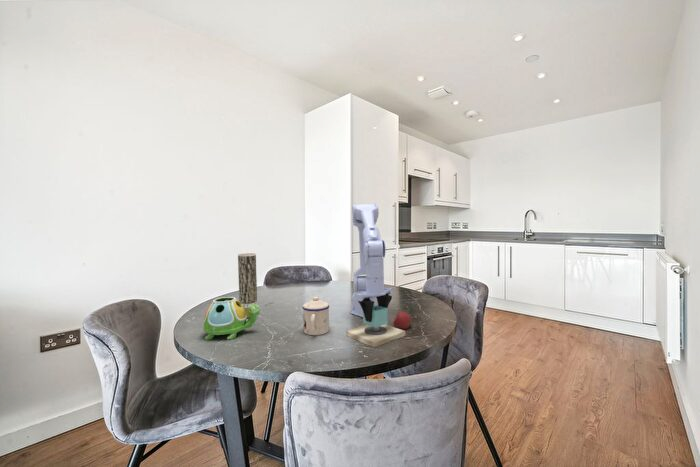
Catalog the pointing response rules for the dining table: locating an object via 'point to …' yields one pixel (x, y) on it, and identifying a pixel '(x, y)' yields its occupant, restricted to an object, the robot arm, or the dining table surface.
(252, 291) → the bark log
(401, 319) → the fruit
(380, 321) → the collar
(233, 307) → the turtle holder
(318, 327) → the teacup with lid
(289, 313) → the dining table surface
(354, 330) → the post base
